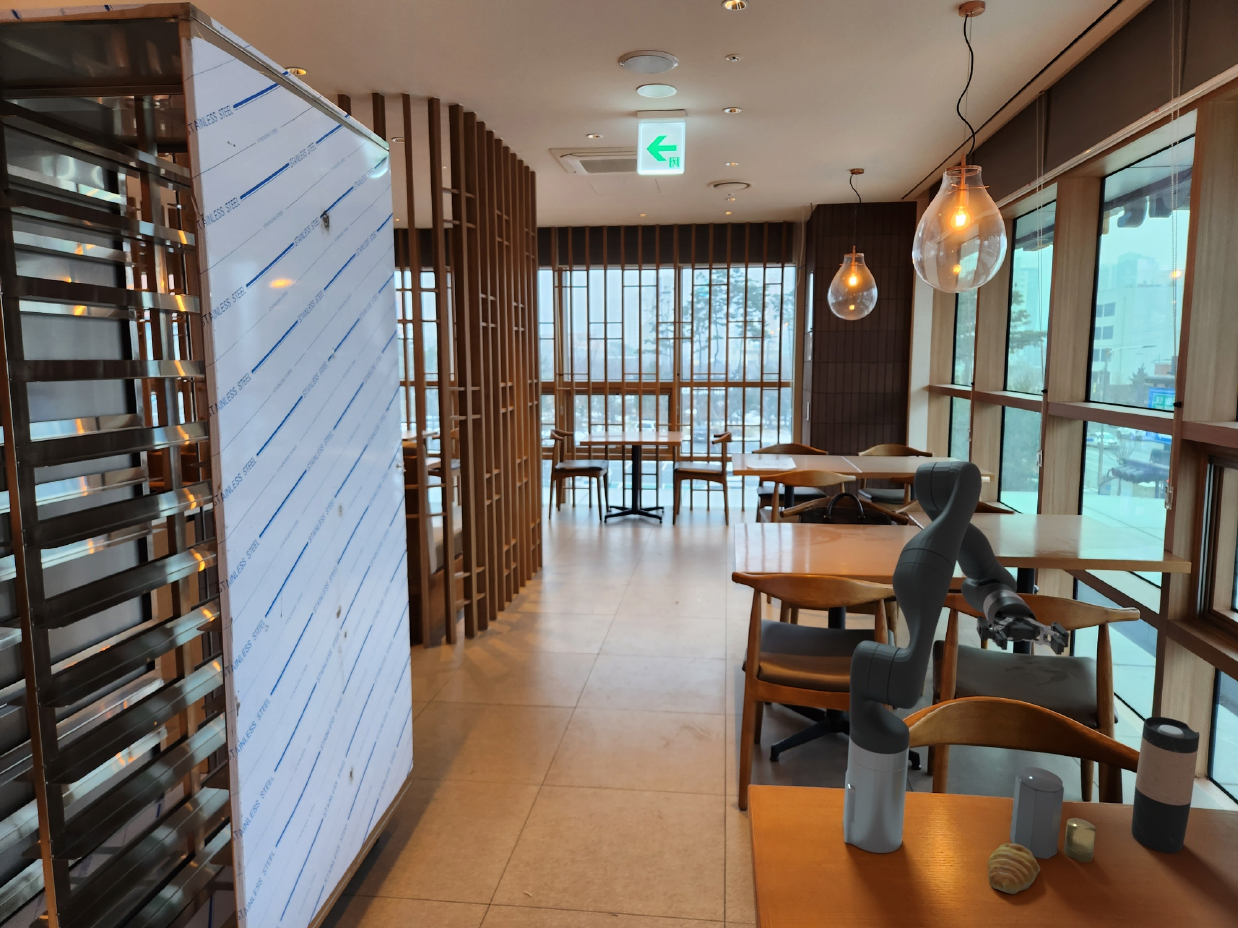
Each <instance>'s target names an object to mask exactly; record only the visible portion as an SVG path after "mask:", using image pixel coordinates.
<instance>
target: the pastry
mask: <svg viewBox="0 0 1238 928" xmlns="http://www.w3.org/2000/svg"><path fill="white" fill-rule="evenodd" d="M987 867H988V871H987V872H988V874H987V875H988V881H989V883H990V886H991V887H992V888H994V889H996V890H999V891H1001V892H1004V893H1007V894H1011V895H1016V894H1017V893H1018V892H1020V891H1023V890H1027V889H1030V886H1031V885H1032V884H1033V883H1034V882H1035V879H1036V878H1037V876H1038V874H1039V873H1040V871H1041V867H1040V865H1039V864H1038V862H1037V859H1036V857H1034V856H1033V854H1032V852H1030V850H1028V849H1027V848H1025V847H1023V846H1021V845H1019V844H1012V843H1009V842H1005V843H1003V844H1000V845H999V847H998V848H997V849H995V850H994V851H992V852H991V853H990V857H989V858H988V861H987Z"/></svg>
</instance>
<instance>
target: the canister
mask: <svg viewBox="0 0 1238 928" xmlns="http://www.w3.org/2000/svg"><path fill="white" fill-rule="evenodd" d="M1014 782H1015V783H1014V790H1013V791H1014V792H1013V803H1012V813H1011V814H1012V815H1011V824H1010V833H1009V839H1010V841H1011V844H1019V845H1021V846H1023V847H1025V848H1027V849H1028V850H1030V852H1032V854H1033V856H1034V858H1038V859H1044V860H1045V859H1046V860H1049V859H1050V858H1052V857H1054V856H1055V855H1057V854H1058V849H1059V848H1058V847H1059V846H1058V845H1059V839H1060V831H1061V830H1060V829H1061V828H1060V827H1061V818H1062V812H1063V811H1062V809H1063V803H1064V801H1063V800H1064V792H1065V791H1064V790H1065V787H1064V786H1063V782H1064V781H1063V780H1062V779H1061V777H1060V776H1058V775H1057V774H1056V773H1053V772H1052V771H1049V770H1048V769H1047V770H1046V769H1044V768H1040V767H1034V766H1033V767H1032V766H1027V767H1021V768H1020V769H1019V770H1018V771H1017V773H1016V774H1015V780H1014Z"/></svg>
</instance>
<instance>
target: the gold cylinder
mask: <svg viewBox="0 0 1238 928" xmlns="http://www.w3.org/2000/svg"><path fill="white" fill-rule="evenodd" d="M1065 829H1066V830H1065V835H1064V836H1065V838H1064V843H1063V844H1064V845H1063V852H1064V854H1065V855H1066V856H1068V857H1069V858H1070V859H1072V860H1075V861H1078V862H1081V863H1089V862H1091V861H1092V860H1093V857H1094V848H1095V838H1096V831H1097V829H1096V826H1094V824H1093V823H1091V822H1090V821H1088V820H1085V819H1082V818H1078V817H1071V818H1068V819H1067V821H1066V828H1065Z"/></svg>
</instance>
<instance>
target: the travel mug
mask: <svg viewBox="0 0 1238 928" xmlns="http://www.w3.org/2000/svg"><path fill="white" fill-rule="evenodd" d="M1142 725H1143V726H1142V735H1141V741H1140V748H1139V757H1138V761H1137V762H1138V763H1137V771H1136V777H1135V785H1134V795H1133V796H1134V797H1133V807H1132V818H1131V819H1132V820H1131V835H1132V837H1133V838H1134V839H1135V840H1136V841H1137V842H1138V843H1140V844H1141V845H1143V846H1144V847H1147V848H1148V849H1151V850H1154V851H1156V852H1160V853H1165V854H1177V853H1180V852H1181V851H1182V850H1183V848H1184V842H1185V838H1186V832H1187V827H1188V821H1189V817H1190V809H1191V805H1192V798H1193V793H1194V792H1193V790H1194V783H1195V775H1196V767H1197V759H1198V750H1199V743H1200V732H1199V731H1194V730H1193V729H1192V728H1190V727H1189V724H1187V723H1185V722H1184V721H1182V720H1181V721H1180V720H1178V719H1174V718H1172V717H1171V718H1169V717H1165V716H1150V717H1147V718H1145V720H1144V721H1143V724H1142Z"/></svg>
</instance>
